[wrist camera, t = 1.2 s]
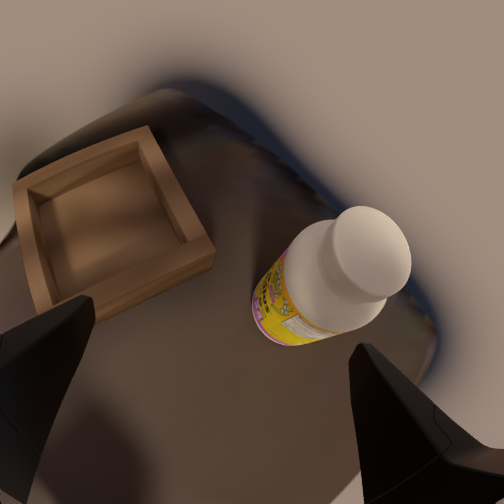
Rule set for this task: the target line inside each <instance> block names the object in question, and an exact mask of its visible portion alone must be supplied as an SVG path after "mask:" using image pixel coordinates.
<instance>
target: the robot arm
mask: <svg viewBox="0 0 504 504" xmlns="http://www.w3.org/2000/svg"><path fill="white" fill-rule="evenodd" d="M95 320H96V315H95V308H94V302H93V299H92V297H90V296H86V295H79V296H77V297H75V298H73V299H71V300H69V301H67V302H65V303H63V304H61V305H58V306H56V307H54V308H52V309H50V310H48V311H46V312H44V313H42V314H40V315H38V316H36V317H34V318H32V319H30V320H28V321H26V322H24V323H22V324H20V325H18V326H16V327H14V328H13V329H11V330H9V331H7V332H5V333H4V334H1V335H0V494H1V491H4V492H5V493H7V494H8V495H10V496H12V497H13V498H15V499H16V500H18V501H20V502H21V503H23V504H26V503H27V500H28V496H29V493H30V489H31V486H32V482H33V479H34V476H35V473H36V470H37V467H38V464H39V461H40V458H41V457H40V456H41V454H42V451H43V449H44V446H45V443H46V440H47V438H48V435H49V432H50V430H51V427H52V425H53V422H54V420H55V417H56V415H57V412H58V410H59V408H60V405H61V403H62V400H63V398H64V396H65V394H66V391H67V389H68V387H69V385H70V382H71V380H72V378H73V376H74V374H75V372H76V369H77V367H78V365H79V363H80V361H81V359H82V356H83V354H84V351H85V348H86V345H87V342H88V340H89V337H90V334H91V332H92V329H93V326H94V324H95ZM349 379H350V396H351V406H352V412H353V418H354V425H355V431H356V438H357V445H358V453H359V461H360V469H361V477H362V487H363V497H364V504H504V449H495V448H489V447H487V446H485V445H483V444H482V443H480V442H479V441H478V440H476V439H475V438H473V436H471V435H470V434H469V433H467V432H466V431H465V430H464V429H463V428H461V427H460V426H459V425H458V424H457V423H455V422H454V421H453V420H452V419H450V418H449V417H448V416H447V415H446V414H445V413H444V412H443V411H442V410H441V409H440V408H439V407H438V406H436V405H435V404H434V403H433V402H432V401H431V400H430V399H429V398H428V397H427V396H426V395H425V394H424V393H423V392H422V391H421V390H420V389H419V388H418V387H417V386H416V385H415V384H413V383H412V382H411V381H410V380H409V379H408V378H407V377H406V376H405V375H404V374H403V373H402V372H401V371H400V370H399V369H398V368H396V367H395V366H394V365H393V364H392V363H391V362H390V361H389V360H388V359H387V358H386V357H385V356H384V355H383V354H382V353H380V352H379V351H378V350H377V349H376V348H375V347H374V346H373V345H372V344H371V343H364V342H360V343H359V344H358V345H357V346H356V348H355V350H354V352H353V354H352V355H351V357H350V359H349ZM0 504H1V502H0Z"/></svg>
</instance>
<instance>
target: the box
mask: <svg viewBox="0 0 504 504" xmlns="http://www.w3.org/2000/svg"><path fill="white" fill-rule="evenodd" d="M12 186H13V197H14V207H15V215H16V223H17V230H18V236H19V242H20V247H21V253H22V258H23V262H24V267H25V271H26V276H27V280H28V284H29V288H30V291H31V295H32V299H33V302H34V306H35V309H36V312H37V315H40V314H42V313H44V312H46V311H48V310H50V309H52V308H54V307H56V306H58V305H61V304H63V303H65V302H67V301H69V300H71V299H73V298H75V297H77V296H79V295H86V296H90V297H92V299H93V302H94V308H95V315H96V320H95V324H94V325H96V324H98V323H100V322H102V321H104V320H106V319H108V318H110V317H112V316H114V315H116V314H119V313H121V312H123V311H125V310H127V309H129V308H131V307H133V306H135V305H137V304H139V303H141V302H143V301H145V300H147V299H149V298H152V297H154V296H156V295H158V294H160V293H162V292H164V291H166V290H168V289H170V288H172V287H174V286H176V285H178V284H180V283H183V282H185V281H187V280H189V279H191V278H193V277H195V276H197V275H199V274H201V273H203V272H205V271H207V270H210V269H211V268H212V265H213V261H214V258H215V254H216V251H217V250H216V249H215V247H214V245H213V243H212V242H211V240H210V238H209V236H208V235H207V233H206V231H205V229H204V228H203V226H202V224H201V222H200V220H199V219H198V217H197V215H196V213H195V212H194V210H193V208H192V206H191V204H190V203H189V201H188V199H187V197H186V195H185V194H184V192H183V190H182V188H181V186H180V184H179V183H178V181H177V179H176V177H175V175H174V174H173V172H172V170H171V168H170V166H169V164H168V162H167V161H166V159H165V157H164V155H163V153H162V151H161V149H160V148H159V146H158V144H157V142H156V140H155V138H154V136H153V134H152V132H151V131H150V129H149V127H148V125H147V126H144V127H141V128H138V129H135V130H132V131H129V132H126V133H123V134H120V135H118V136H115V137H112V138H110V139H107V140H104V141H102V142H99V143H97V144H94V145H92V146H89V147H87V148H85V149H82V150H80V151H78V152H75V153H73V154H71V155H68V156H66V157H64V158H62V159H60V160H58V161H55V162H53V163H51V164H49V165H47V166H45V167H43V168H41V169H39V170H37V171H35V172H33V173H31V174H29V175H27V176H26V177H24V178H22V179H20V180H18V181H16V182H15V183H13V184H12Z"/></svg>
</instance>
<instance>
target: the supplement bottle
mask: <svg viewBox="0 0 504 504" xmlns="http://www.w3.org/2000/svg"><path fill="white" fill-rule="evenodd" d="M410 270H411V255H410V250H409V246H408V244H407V241H406V239H405V237H404V235H403V233H402V232H401V230H400V228H399V227H398V226H397V225H396V224H395V222H393V220H392V219H390V218H389V217H388V216H387V215H385V214H384V213H382V212H380V211H378V210H376V209H374V208H370V207H366V206H357V207H352V208H349V209H347V210H345V211H344V212H343V213H342V214H340V215H339V217H338V218H337V219H336V220H324V221H320V222H317V223H314V224H312V225H310V226H308V227H307V228H305V229H304V230H303V231H301V232H300V233H299V234H298V235H297V237H296V238H295V239H294V240H293V242H292V243H291V244H290V245H289V247H288V248H287V249H286V250H285V251H284V252H283V254H282V255H281V256H280V257H279V258H278V260H277V261H276V262H275V263H274V265H273V266H272V267H271V268H270V269H269V270H268V272H267V273H266V274H265V275H264V276H263V278H262V279H261V280H260V282H259V283H258V285H257V286H256V288H255V291H254V294H253V298H252V312H253V316H254V319H255V322H256V324H257V326H258V327H259V329H260V330H261V331H262V332H263V334H264V335H266V336H267V337H268V338H269V339H271V340H272V341H274V342H276V343H279V344H282V345H288V346H296V345H302V344H306V343H310V342H314V341H317V340H321V339H324V338H328V337H331V336H335V335H338V334H341V333H345V332H348V331H352V330H355V329H357V328H360V327H362V326H364V325H366V324H368V323H369V322H370V321H372V320H373V319H374V318H375V317H376V316H377V315H378V313H379V312H380V311H381V309H382V308H383V306H384V304H385V302H386V299H387V297H389V296H391V295H393V294H395V293H397V292H398V291H399V290H400V289H402V287H403V286H404V285H405V283H406V282H407V280H408V278H409V275H410Z"/></svg>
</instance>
